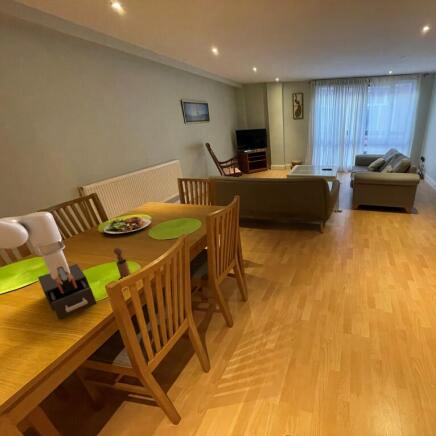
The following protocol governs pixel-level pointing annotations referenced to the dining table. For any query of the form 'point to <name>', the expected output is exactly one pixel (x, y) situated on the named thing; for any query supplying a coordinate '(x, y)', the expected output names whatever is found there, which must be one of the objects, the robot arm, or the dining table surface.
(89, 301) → the drawer
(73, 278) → the block
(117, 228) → the plate of food
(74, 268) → the dark grey cabinet
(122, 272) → the wooden pepper mill
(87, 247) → the dining table surface
